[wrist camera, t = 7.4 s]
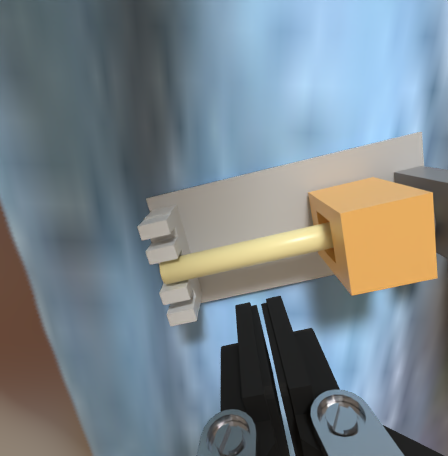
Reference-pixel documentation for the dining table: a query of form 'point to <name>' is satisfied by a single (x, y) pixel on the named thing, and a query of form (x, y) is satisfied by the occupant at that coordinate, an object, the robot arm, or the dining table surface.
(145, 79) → the dining table surface
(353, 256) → the sleeve
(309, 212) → the rail
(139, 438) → the dining table surface
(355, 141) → the dining table surface
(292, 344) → the robot arm
